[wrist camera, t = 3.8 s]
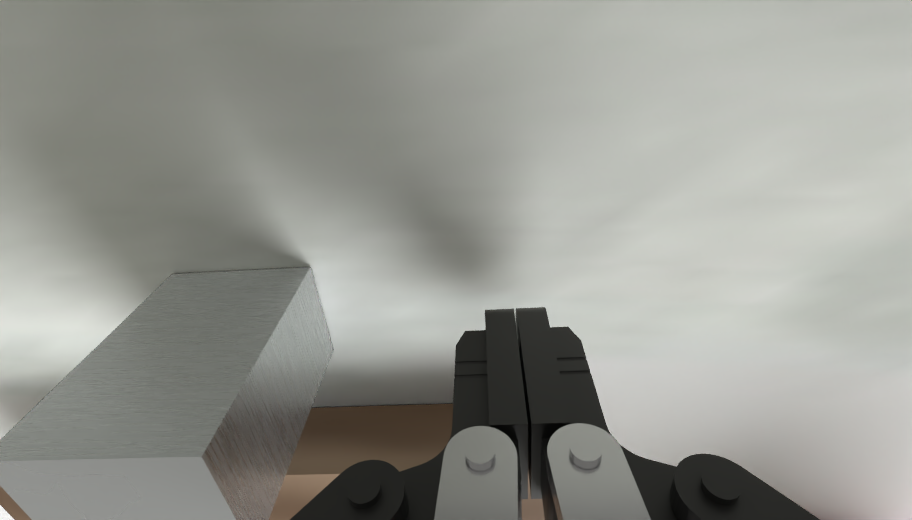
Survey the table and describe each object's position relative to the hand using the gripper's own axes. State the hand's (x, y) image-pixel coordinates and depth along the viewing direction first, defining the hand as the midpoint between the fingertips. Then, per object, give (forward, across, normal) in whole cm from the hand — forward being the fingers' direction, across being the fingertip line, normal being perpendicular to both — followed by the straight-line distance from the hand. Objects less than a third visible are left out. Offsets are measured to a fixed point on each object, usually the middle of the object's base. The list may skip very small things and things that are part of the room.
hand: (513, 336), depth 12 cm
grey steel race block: (+2, +7, 0) cm, 8 cm away
